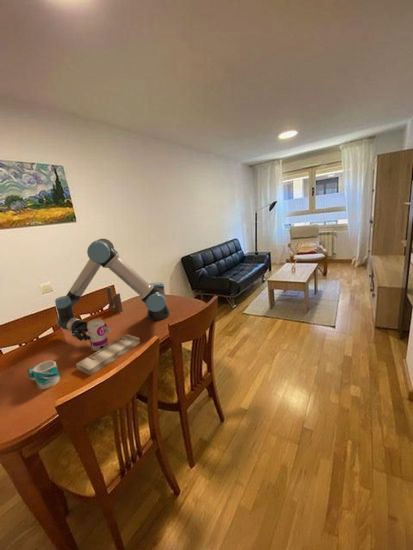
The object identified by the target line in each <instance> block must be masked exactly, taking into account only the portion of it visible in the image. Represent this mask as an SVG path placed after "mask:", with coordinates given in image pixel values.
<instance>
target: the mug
mask: <svg viewBox="0 0 413 550" xmlns="http://www.w3.org/2000/svg"><path fill="white" fill-rule="evenodd" d="M26 370H27V374H28V377H29V380H30V381H35V383H36V385H37V388H38V389H39V390H46V388H47V389H49V387H50V388H52V387H54V386H56V385H57V384H58V383H59V382H60V380H61V377H60V375H59V371H58V366H57V363H56V361H54V360H51V359H50V360H45V361H44V362H40V363H38V364H37V365H35V366H33V365H32V366H31V367H29V368H28V369H26ZM51 386H52V387H51Z"/></svg>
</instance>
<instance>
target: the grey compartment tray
mask: <svg viewBox="0 0 413 550" xmlns="http://www.w3.org/2000/svg"><path fill="white" fill-rule="evenodd" d="M139 344H141V339H140V337H137V336H134V335H131V334H124V335H123V336H121V337H119V338H118V339H116V340H114V341H113V342H111V343H108V345H107V346H106V347H104V348H102V349H101V350H99V351H95V352H94V353H91V354H90V355H89V356H87V357H86V358H84V359H82V360H80V361H79V362H76V364H75V365H76V369H77V370H78V371H80V372H82V373H84V374H86V375H88V376H93V375H94V374H95V373H97V372H99V371H100V370H102V369H103V368H105V367H106V366H108V365H109V364H111V363H112V362H113V361H115V360H117V359H118V358H120V357H121V356H122V355H124V354H126V353H128V352H129V351H131V350H132V349H134V348H135V347H137V346H138V345H139Z"/></svg>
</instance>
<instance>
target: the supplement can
mask: <svg viewBox="0 0 413 550" xmlns="http://www.w3.org/2000/svg"><path fill="white" fill-rule="evenodd" d="M87 323H88V325H87V329H88V331H87V332H88V333H87V334H91V335H94V336H96V342H95V341H92V340H89V342H90V346H91V350H92V351H95V352H97V351H99V350H101V349H102V348H104V347H106V346H107V345H109V341H108V336H107V332H106V329H105V324H106V323H105V321H104V320H103V318H95V319H91V320H89V321H88V322H87ZM104 323H105V324H104Z"/></svg>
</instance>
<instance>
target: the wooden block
mask: <svg viewBox="0 0 413 550" xmlns="http://www.w3.org/2000/svg"><path fill="white" fill-rule="evenodd" d="M105 292H106V296H107V301H108V306H107V307H108V311H109V312H113V313H118V314H120V313H122V312H124V311H123V306H122V305H123V304H122V299H121V293H120V292H118V293H117V294H115V295H114V297H113V290H112V287H111V286H107V287H105Z"/></svg>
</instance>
